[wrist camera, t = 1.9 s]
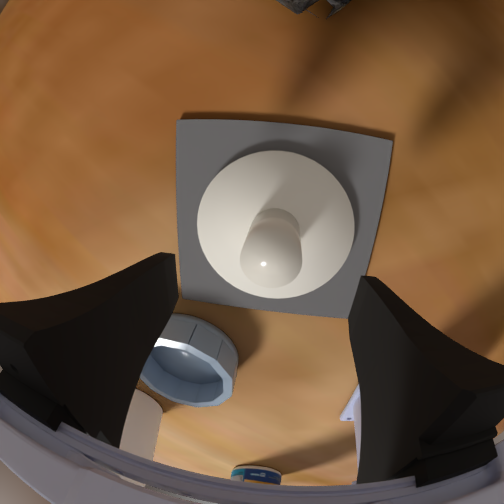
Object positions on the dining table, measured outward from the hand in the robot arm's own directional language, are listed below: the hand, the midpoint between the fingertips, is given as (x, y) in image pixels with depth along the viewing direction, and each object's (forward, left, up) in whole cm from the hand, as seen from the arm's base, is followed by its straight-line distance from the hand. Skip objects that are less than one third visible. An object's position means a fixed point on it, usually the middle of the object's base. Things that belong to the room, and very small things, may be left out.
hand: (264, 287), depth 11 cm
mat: (0, 0, -7) cm, 7 cm away
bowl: (+6, +12, -7) cm, 15 cm away
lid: (0, 0, -6) cm, 6 cm away
